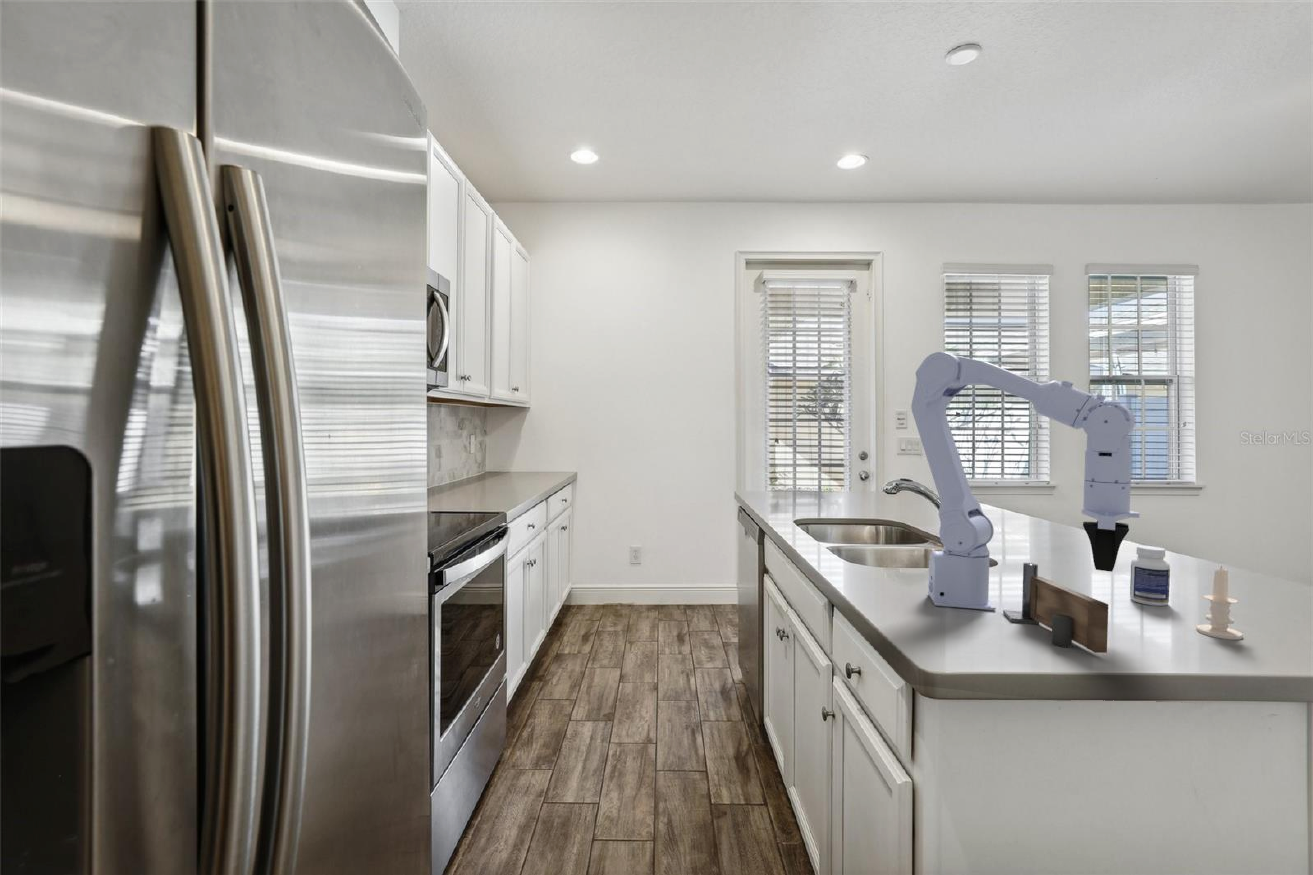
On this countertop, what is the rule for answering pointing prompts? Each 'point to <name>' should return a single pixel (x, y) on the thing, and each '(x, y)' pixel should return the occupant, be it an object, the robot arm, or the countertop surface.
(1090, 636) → the gate
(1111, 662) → the countertop surface
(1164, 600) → the pill bottle
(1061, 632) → the block
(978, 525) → the robot arm
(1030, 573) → the gate post
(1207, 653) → the countertop surface
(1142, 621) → the countertop surface
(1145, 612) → the countertop surface
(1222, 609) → the candle
